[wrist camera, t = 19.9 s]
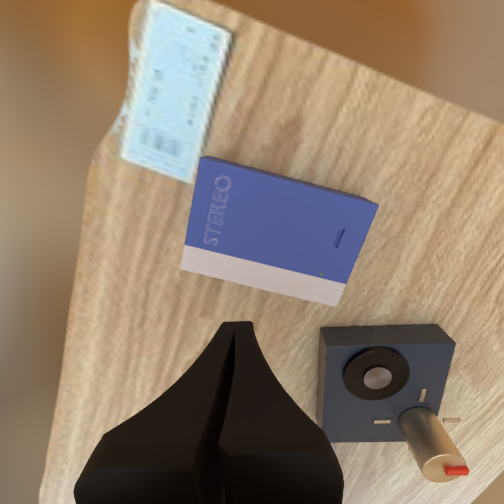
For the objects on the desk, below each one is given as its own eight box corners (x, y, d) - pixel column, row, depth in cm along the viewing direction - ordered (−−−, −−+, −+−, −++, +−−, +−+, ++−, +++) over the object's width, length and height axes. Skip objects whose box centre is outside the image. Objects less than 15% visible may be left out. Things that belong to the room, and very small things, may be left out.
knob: (395, 433, 26) (421, 487, 22) (400, 407, 24) (427, 459, 20) (432, 432, 25) (465, 486, 21) (438, 406, 24) (473, 458, 20)
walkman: (364, 197, 21) (202, 154, 20) (379, 205, 18) (194, 155, 17) (327, 290, 23) (184, 255, 23) (336, 308, 21) (174, 270, 20)
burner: (402, 395, 24) (406, 402, 23) (340, 396, 24) (342, 403, 24) (411, 345, 22) (416, 351, 22) (344, 346, 22) (347, 353, 22)
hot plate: (435, 423, 29) (451, 449, 26) (315, 425, 29) (321, 451, 26) (460, 323, 24) (483, 343, 22) (320, 327, 25) (327, 347, 22)
